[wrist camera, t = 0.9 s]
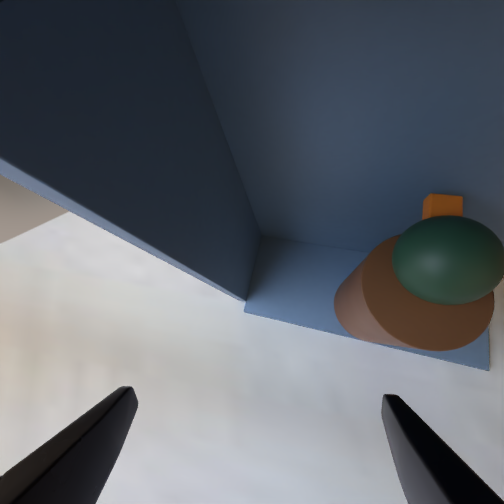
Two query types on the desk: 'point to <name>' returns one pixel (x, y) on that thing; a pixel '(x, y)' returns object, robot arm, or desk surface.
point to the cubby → (258, 132)
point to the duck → (425, 282)
